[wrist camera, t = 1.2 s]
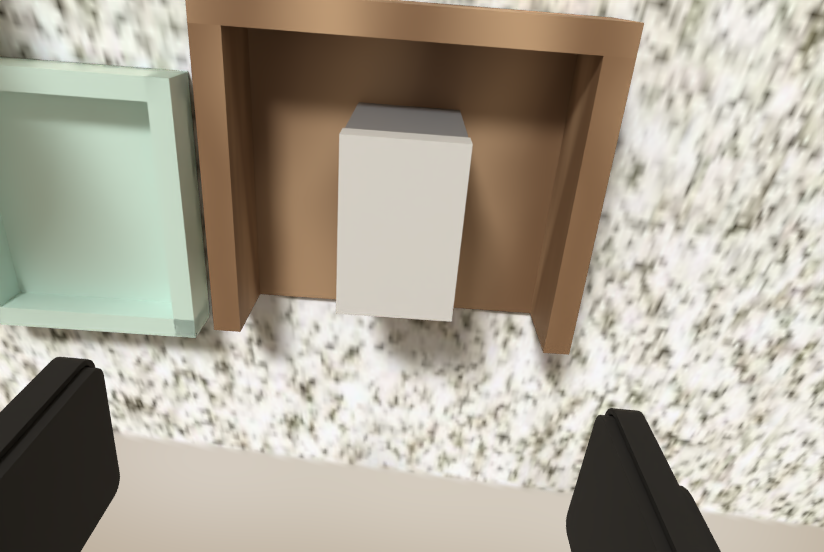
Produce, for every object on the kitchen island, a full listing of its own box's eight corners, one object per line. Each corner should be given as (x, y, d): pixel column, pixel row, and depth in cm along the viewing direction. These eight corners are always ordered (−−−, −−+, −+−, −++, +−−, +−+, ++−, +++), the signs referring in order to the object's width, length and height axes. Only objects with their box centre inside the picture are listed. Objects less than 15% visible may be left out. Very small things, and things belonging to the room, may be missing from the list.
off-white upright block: (461, 109, 26) (472, 144, 20) (445, 254, 29) (451, 321, 24) (357, 100, 26) (339, 134, 20) (352, 248, 29) (336, 313, 23)
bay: (611, 17, 25) (643, 23, 21) (551, 311, 31) (569, 354, 27) (218, -15, 24) (184, -15, 21) (238, 289, 31) (214, 329, 27)
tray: (188, 71, 26) (168, 78, 24) (210, 315, 31) (195, 337, 29) (-52, 52, 26) (-92, 58, 24) (12, 301, 31) (-16, 323, 29)
